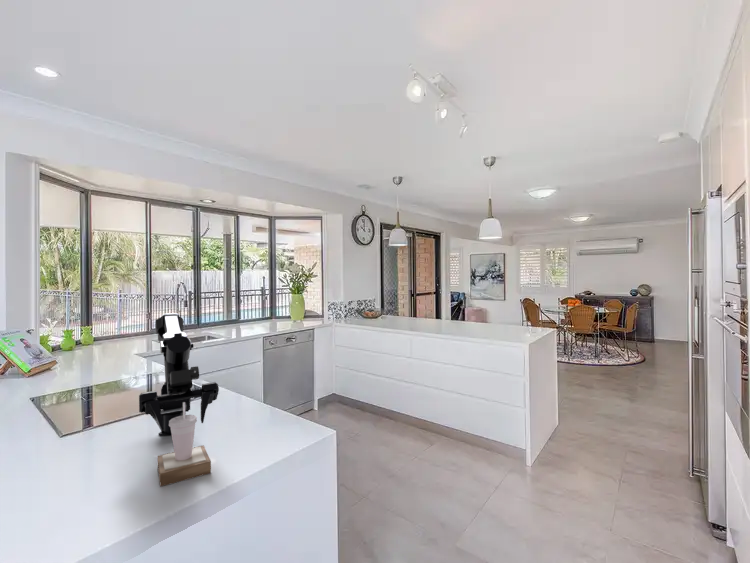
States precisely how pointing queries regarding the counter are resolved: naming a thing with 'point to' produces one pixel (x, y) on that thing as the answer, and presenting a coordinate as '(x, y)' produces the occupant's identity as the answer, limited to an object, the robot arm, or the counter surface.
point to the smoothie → (183, 435)
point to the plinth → (183, 466)
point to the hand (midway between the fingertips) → (182, 426)
